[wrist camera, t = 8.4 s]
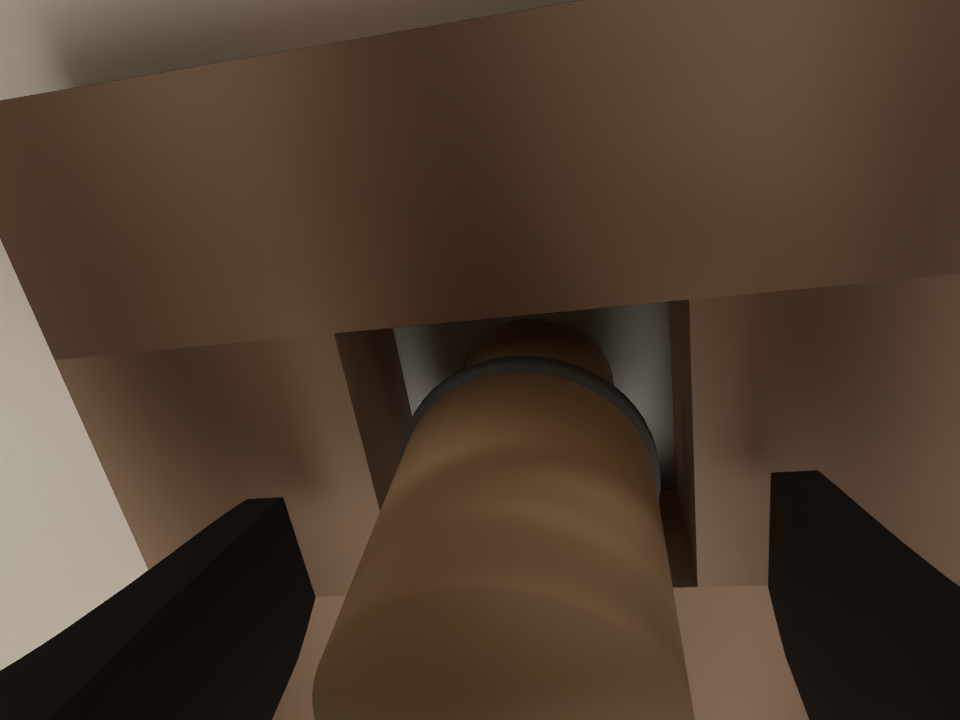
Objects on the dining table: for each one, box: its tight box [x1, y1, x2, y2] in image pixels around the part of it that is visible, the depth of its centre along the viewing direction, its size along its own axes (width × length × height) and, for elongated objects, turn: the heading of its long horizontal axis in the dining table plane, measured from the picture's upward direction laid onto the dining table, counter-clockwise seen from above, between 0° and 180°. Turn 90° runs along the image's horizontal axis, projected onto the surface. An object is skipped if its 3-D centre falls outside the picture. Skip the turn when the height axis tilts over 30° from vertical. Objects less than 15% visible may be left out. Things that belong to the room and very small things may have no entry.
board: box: [0, 0, 960, 720], centre depth 13 cm, size 16×14×3 cm
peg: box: [312, 319, 695, 720], centre depth 11 cm, size 4×4×8 cm
